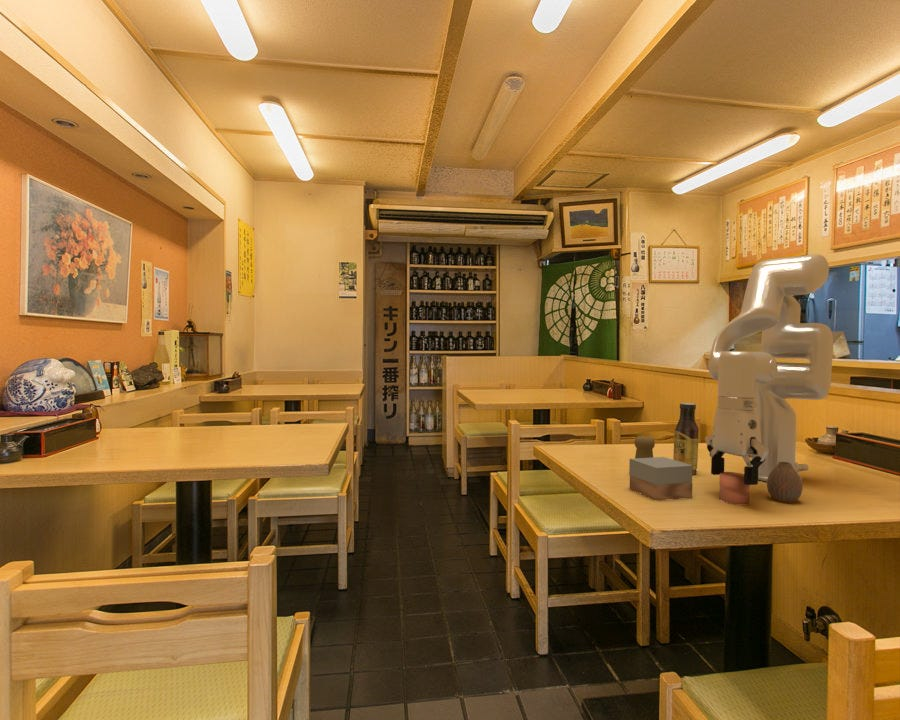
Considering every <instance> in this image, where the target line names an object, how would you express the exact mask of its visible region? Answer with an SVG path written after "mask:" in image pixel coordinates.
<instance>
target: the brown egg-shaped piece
mask: <svg viewBox="0 0 900 720" xmlns="http://www.w3.org/2000/svg"><path fill="white" fill-rule="evenodd" d="M800 476H801V475H800V474H799V472H798V473H797V472H796V471H795V470H794V468H793V467H792V464H791V463H789V462H779V463H778V465H777V466H776V467H775V468H774V469H773V470H772V471H771V472H770V474H769V476H768V478H767V481H766V487H767V491H768V494H769V495H770V497H771V498H772V499H774V500H775V501H778V502H782V503H795V502H796V501H798V500H799V499H800V498H801V497H802V493H803V488H804V487H803V486H804V485H803V479H802V480H801V478H800Z"/></svg>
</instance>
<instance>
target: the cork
mask: <svg viewBox="0 0 900 720" xmlns="http://www.w3.org/2000/svg"><path fill="white" fill-rule="evenodd" d="M655 443H656V442H655V440H654V438H652V437H650V436H645V435H640V436H636V437H635V439H634V446H635V448H636V450H635V456H634V458H653V457H654V451H653V449H654V448H655V446H656V445H655Z"/></svg>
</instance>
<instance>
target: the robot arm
mask: <svg viewBox="0 0 900 720" xmlns="http://www.w3.org/2000/svg"><path fill="white" fill-rule="evenodd" d="M829 265H830V264H829V261H828V260H827V258H826V257H825V256H824V255H822V254H818V253H817V254H816V253H815V254H804V255H797V256H796V255H795V256H788V257H787V256H786V257H778V258H771V259H766V260H762V261H758V262H757V263H756V264H755V265H754V266H752V270H751V272H750V274H749V277H748V278H747V279H748V280H747V283H746V289H745V293H744V297H743V301H742V305H741V309H740V313H739V314H738V315H737V316H735V317H734V318H733V319H731V321H729V322H728V323H727V324H726V325H724V327H722V329H721V330H720V331H719V332H718V333H717V334H716V336H715V338H714V339H713V343H712V345H711V346H712V347H711V350H710V355H709V357H708V358H709V359H708V366H707V367H708V372H709V373H708V374H709V376H710V377H711V378H712V380H716V381H717V402H716V403H717V405H716V406H717V408H716V410H715V412H714V418H713V425H712V433H711V434H709V435H707V436H705V437H704V441H705V444H706V445H707V446H706V448H707V450H708V452H709V453H708V454H709V457H710V458H711V459H710V460H711V462H710V463H711V464H710V466H711V467H710V473H711V475H712V476H716V475H717V476H718V475H719V476H720V473H721V472H725V462H726V461H725V457H723V456H724V455H725V454H727V455H733V456H736V457H742V459H743V461H744V462H745V464H746V466H744V468H743V474H744V484H745V485H750V486H756V485H758V484H759V481H761V482H767V478H768V476H769V474H770V472H771V471H772V470H773V469H774V468H775V467H776V466H777V465H778V463H779V462H789V463H791V464H792V467H793V468H794V470H795V471H796V472H797V473H798V474H799V472H807V471H808V470H809V465H808V464H807V463H799V462H796V447H797V446H796V445H797V444H796V442H797V440H796V439H797V415H796V412H795V410H794V408H793V407H792V406H791V405H790V403H789V402H788V401H787V400H786V399H789V400H791V399H793V400H794V399H796V400H808V401H810V400H811V401H818V400H824V399H826V397H828V395H829V393H830V389H831V382H832V371H833V370H832V369H833V368H832V367H833V355H834V354H833V353H834V337H833V333H832V330H831V328H830V327H829V326H828V325H826V324H824V323H821V322H820V323H819V322H803V323H802V322H801V313H802V312H801V311H802V307H801V304H800V303H799V301H798V300H797V299H796V298H795V297H794V296H803V295H805V296H806V295H810V294H813V293H815V292H817V291H818V290H819V289H820V288H821V287H822V286H824V285H825V283H826V281H827V279H828V277H829V274H830V273H829V272H830V267H829ZM758 333H761V343H760V346H761V351H742V350H741V351H740V350H736V351H735V350H734V351H733V350H731V348H733V346H734V345H735V344H737V343H738V342H740V341H741V340H743V339H745V338H749V337H750V336H752V335H756V334H758ZM776 359H788V360H789V359H791V360H792V359H798V360H802V359H804V360H808V361H809V362H805V363H804V362H782V361H781V362H780V361H778V362H777V360H776ZM799 476H800V478H801V480H802V481H803V477H802V476H801V475H799Z"/></svg>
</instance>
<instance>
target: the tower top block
mask: <svg viewBox="0 0 900 720" xmlns="http://www.w3.org/2000/svg"><path fill="white" fill-rule="evenodd" d="M628 466H629V467H628V468H629V470H628V471H629V473H628V475H629V476H630V475H631V476H634V477H636V478H639V479H641V480H644V481H647V482H649V483H652V484H654V485H666V484H680V483H692V484H693V475H692V465H688V464H685V463H682V462H679V461H675V460H673V458H672V459H671V458H668V457H665V456H659V457H658V456H657V457H656V456H655V457H654V456H653V458H635V457H634V458H629V465H628Z"/></svg>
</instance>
